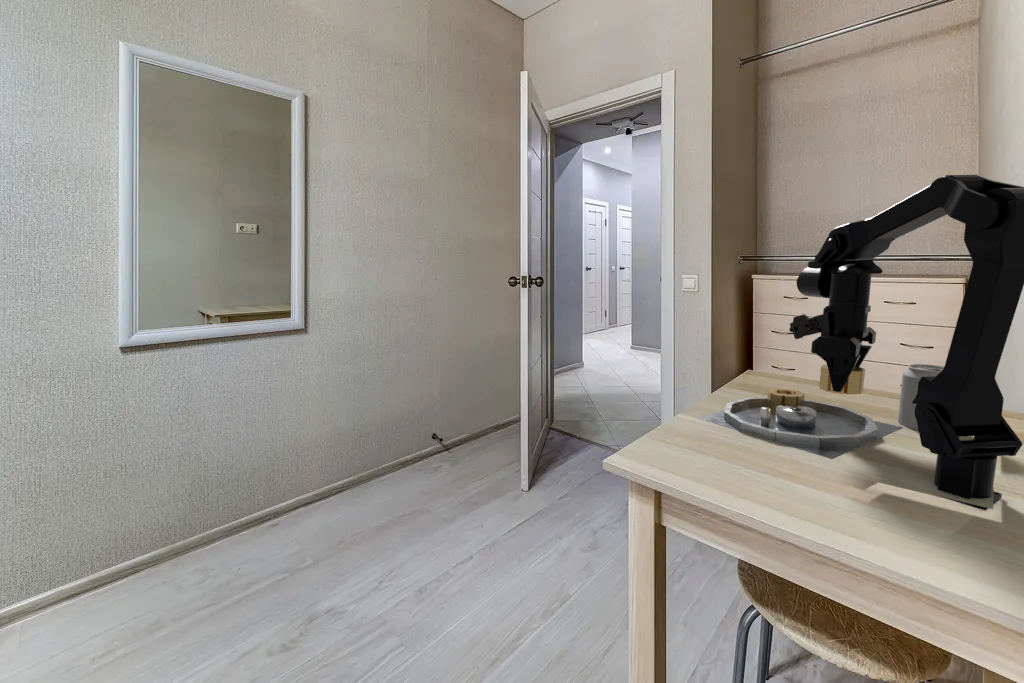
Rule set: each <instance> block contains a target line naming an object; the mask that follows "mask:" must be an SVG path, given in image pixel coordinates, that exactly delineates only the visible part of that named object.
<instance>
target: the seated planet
mask: <svg viewBox="0 0 1024 683" xmlns="http://www.w3.org/2000/svg"><path fill="white" fill-rule="evenodd" d="M785 394H789V395H785ZM805 395H806V394H805V393H803V391H800V390H795V389H792V388H789V389H788V388H780V387H779V388H771V389H768V390H767V396H766V397H767V407H768V408H770V409H771V410H770V412H771V413H774V414H776V407H777V406H779V405H799V406H804V399H805Z"/></svg>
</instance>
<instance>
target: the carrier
mask: <svg viewBox="0 0 1024 683" xmlns="http://www.w3.org/2000/svg"><path fill="white" fill-rule="evenodd" d="M785 395H789V394H785ZM767 397H768V396H759V397H758V396H756V397H744V398H741V399H736V400H734V401H730V402H727V403H726V406H725V409H722V410H720V411H716V412H712V413H709V414H708V413H707V414H706V415H705V414H704V415H702V416H698V417H696V418H697V419H699V420H702V421H706V422H709V423H711V424H716V425H718V426H723V427H724V428H725V427H726V428H729V429H733V430H735V431H738V432H741V433H745V434H748V435H751V436H755V437H758V438H762V439H765V440H767V441H768V440H769V441H770V442H771V441H772V442H774V443H778V444H781V445H785V446H788V447H792V448H794V449H798V450H801V451H804V452H807V453H811V454H813V455H814V454H815V455H818V456H821V457H824V458H827V459H831V460H833V459H835V458H838V457H839V456H842V455H844V454H847V453H849V452H850V451H853V450H855V449H857V448H860V447H863V446H864V445H867V444H869V443H872V442H873V441H876V440H878V439H881V438H883V437H885V436H887V435H889V434H892V433H894V432H897V431H898V430H900V429H903V428H904V426H899V425H895V424H894V425H893V424H890V423H885V422H880V421H876V420H873V418H872V417H871V416H868V415H865V414H863V413H860V412H858V411H856V410H853V409H852V408H848V407H845V406H841V405H835V404H831V403H828V402H822V401H817V400H812V399H805V398H804V406H805V407H809V408H812V409H814V410H815V411H816V424H815V426H814V427H811V428H795V427H789V426H785V425H782V424H779V423H777V422H776V420H775V418H776V414H774V413H771V412H770V410H771V409H770V408H768V407H767Z"/></svg>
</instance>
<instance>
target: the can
mask: <svg viewBox="0 0 1024 683" xmlns="http://www.w3.org/2000/svg"><path fill="white" fill-rule="evenodd" d="M944 366H945V365H944ZM944 366H943V365H935V364H928V363H927V364H925V363H921V364H920V363H918V364H917V363H913V364H912V363H911V364H908V365H907V369H906V370H905V371H903V372H902V378H901V387H900V395H899V396H900V397H899V405H898V415H897V423H898V424H899V425H901V426H902V427H906V428H908V429H909V428H910V429H913V430H918V425H917V420H916V418H915V406H916V404H913V403H912V401H913V400H914V399H915V397H916V395H917V391H918V382H919V381H920V379H921V377H928V376H937V375H938V374H939V373H940V372H941V371H942V370H943V368H944ZM918 431H919V430H918Z"/></svg>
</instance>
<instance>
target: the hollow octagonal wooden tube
mask: <svg viewBox="0 0 1024 683" xmlns="http://www.w3.org/2000/svg"><path fill="white" fill-rule="evenodd" d="M865 373H866V369H865V368H863V367H861V366H860V367H857V366H855V367H854V369H853V370H852V372H851V374H850V376H849V378H848V380H847V381H846V383H845V385H844V387H843V389H842V390H841V392H836V391H833V388H832V383H831V379H830V374H829V370H828V366H827V363H825V364H822V365H821V366H820V376H819V386H818V387H819V389H820V390H822V391H824V392H827V393H828V392H830V393H833V394H839V395H860V394H861V395H862V393H863V392H864V384H865Z"/></svg>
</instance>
